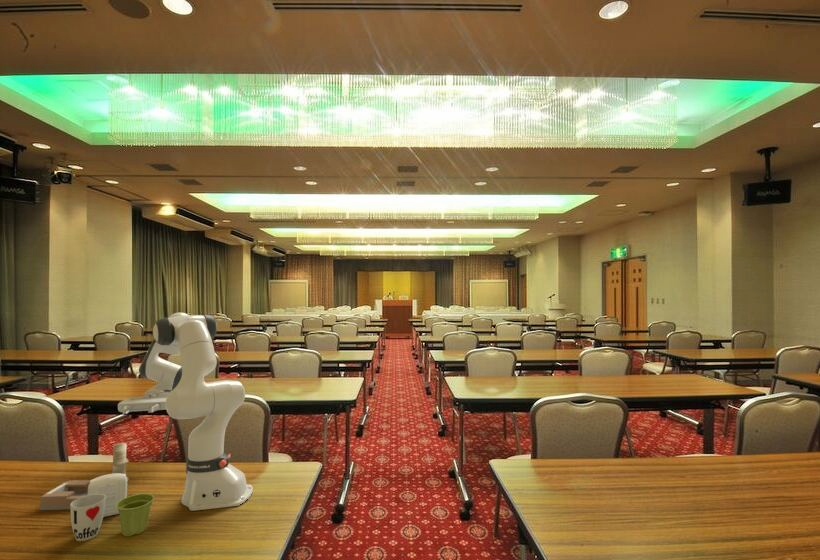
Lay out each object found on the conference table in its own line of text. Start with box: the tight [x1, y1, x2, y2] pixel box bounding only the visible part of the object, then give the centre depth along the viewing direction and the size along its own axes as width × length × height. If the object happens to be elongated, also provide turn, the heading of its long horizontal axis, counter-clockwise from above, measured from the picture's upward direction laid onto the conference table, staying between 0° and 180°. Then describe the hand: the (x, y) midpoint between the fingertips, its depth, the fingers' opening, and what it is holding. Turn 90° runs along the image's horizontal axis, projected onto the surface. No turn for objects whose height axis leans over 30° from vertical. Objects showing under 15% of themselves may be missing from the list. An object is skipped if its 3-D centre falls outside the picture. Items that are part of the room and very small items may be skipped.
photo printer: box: [88, 473, 128, 518], centre depth 133 cm, size 10×4×12 cm, turn 123°
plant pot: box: [116, 492, 155, 537], centre depth 124 cm, size 9×9×9 cm
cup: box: [70, 494, 106, 542], centre depth 121 cm, size 8×8×10 cm
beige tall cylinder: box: [112, 442, 130, 483], centre depth 155 cm, size 6×6×14 cm
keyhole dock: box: [39, 479, 91, 511], centre depth 142 cm, size 16×12×4 cm
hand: (137, 411), depth 167 cm, fingers open, 8 cm apart
